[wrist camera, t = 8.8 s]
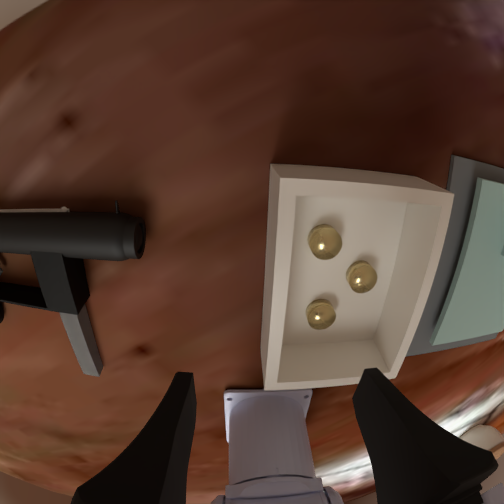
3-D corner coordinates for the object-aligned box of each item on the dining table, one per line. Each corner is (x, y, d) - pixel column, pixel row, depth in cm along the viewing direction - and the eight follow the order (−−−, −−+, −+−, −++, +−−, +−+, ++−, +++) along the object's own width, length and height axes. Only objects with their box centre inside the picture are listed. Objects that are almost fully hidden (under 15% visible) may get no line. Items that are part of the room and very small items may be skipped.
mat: (493, 336, 26) (495, 338, 25) (398, 354, 25) (400, 357, 25) (543, 182, 18) (546, 183, 18) (451, 154, 18) (454, 155, 17)
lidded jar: (452, 433, 35) (472, 474, 27) (499, 407, 35) (520, 443, 26) (439, 457, 40) (454, 493, 31) (482, 434, 39) (499, 467, 30)
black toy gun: (159, 393, 23) (130, 206, 15) (-11, 353, 22) (-67, 210, 14) (165, 364, 26) (147, 187, 18) (2, 334, 24) (-44, 196, 17)
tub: (376, 341, 24) (395, 378, 20) (260, 347, 24) (264, 390, 19) (415, 176, 18) (454, 194, 14) (270, 163, 18) (280, 177, 14)
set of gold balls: (360, 319, 22) (364, 327, 21) (297, 322, 22) (299, 330, 21) (381, 226, 19) (387, 231, 18) (308, 223, 19) (312, 229, 18)
